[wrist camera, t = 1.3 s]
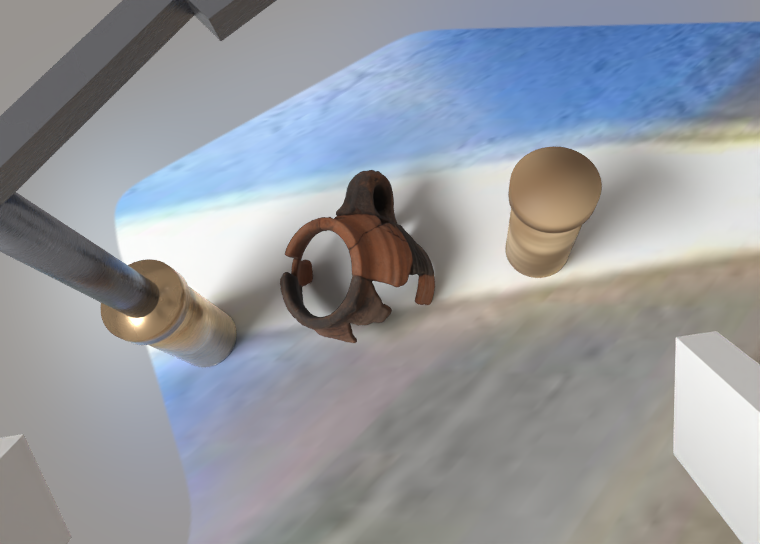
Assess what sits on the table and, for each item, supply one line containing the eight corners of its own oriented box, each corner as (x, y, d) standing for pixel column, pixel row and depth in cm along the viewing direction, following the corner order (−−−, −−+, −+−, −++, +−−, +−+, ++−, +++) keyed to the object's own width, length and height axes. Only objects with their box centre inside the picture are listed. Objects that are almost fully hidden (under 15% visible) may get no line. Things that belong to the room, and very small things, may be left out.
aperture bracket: (427, 194, 43) (388, -76, 22) (198, 385, 40) (-86, 277, 19) (349, 121, 46) (254, -168, 26) (134, 292, 44) (-163, 118, 23)
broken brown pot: (442, 346, 39) (370, 345, 32) (340, 339, 45) (262, 337, 38) (449, 179, 40) (380, 145, 34) (349, 193, 46) (274, 167, 39)
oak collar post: (588, 249, 39) (621, 184, 31) (537, 295, 39) (556, 241, 30) (536, 205, 41) (553, 131, 33) (486, 248, 40) (491, 184, 32)
